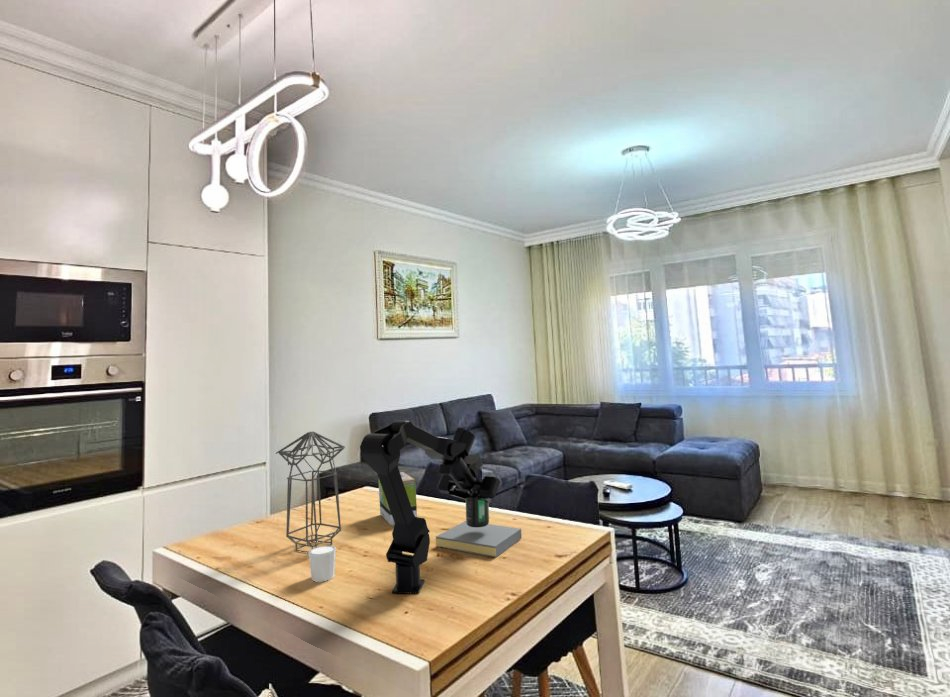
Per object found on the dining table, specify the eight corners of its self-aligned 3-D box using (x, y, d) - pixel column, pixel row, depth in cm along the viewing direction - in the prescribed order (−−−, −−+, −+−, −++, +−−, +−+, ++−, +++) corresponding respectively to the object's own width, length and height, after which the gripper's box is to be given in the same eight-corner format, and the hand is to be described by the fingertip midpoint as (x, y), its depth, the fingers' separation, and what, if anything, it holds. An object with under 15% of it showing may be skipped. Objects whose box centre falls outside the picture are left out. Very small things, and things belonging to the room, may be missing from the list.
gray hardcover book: (495, 557, 133) (494, 546, 133) (435, 547, 143) (435, 536, 144) (521, 538, 147) (521, 528, 147) (465, 530, 157) (465, 520, 157)
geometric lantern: (316, 536, 159) (313, 428, 160) (352, 543, 151) (348, 428, 152) (275, 553, 145) (271, 434, 147) (311, 561, 137) (307, 436, 139)
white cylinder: (327, 570, 130) (326, 543, 131) (342, 575, 126) (341, 548, 126) (303, 579, 125) (302, 551, 126) (319, 585, 121) (318, 556, 121)
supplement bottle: (487, 528, 142) (486, 486, 142) (464, 527, 143) (463, 486, 143) (490, 520, 148) (489, 480, 149) (468, 520, 149) (467, 480, 150)
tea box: (379, 515, 179) (377, 474, 180) (405, 510, 184) (403, 470, 184) (390, 526, 166) (388, 482, 166) (418, 521, 170) (416, 478, 171)
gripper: (495, 448, 138) (515, 479, 147) (441, 445, 148) (463, 475, 157) (482, 482, 131) (503, 513, 140) (427, 477, 141) (450, 506, 150)
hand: (479, 500), depth 147 cm, fingers closed on supplement bottle, 7 cm apart
